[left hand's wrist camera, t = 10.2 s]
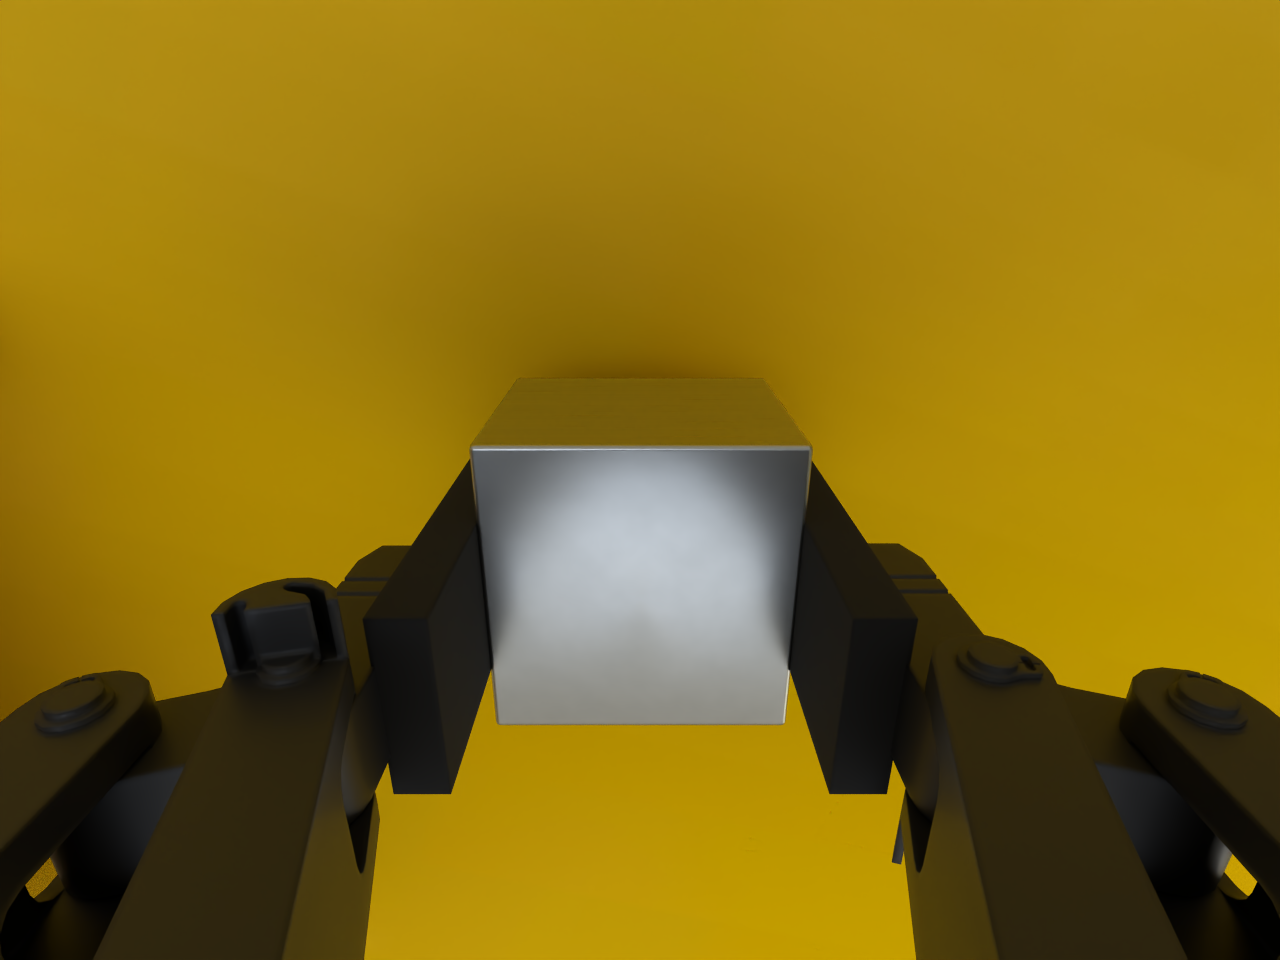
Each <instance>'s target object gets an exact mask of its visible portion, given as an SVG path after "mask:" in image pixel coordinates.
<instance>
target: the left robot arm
mask: <svg viewBox="0 0 1280 960" xmlns="http://www.w3.org/2000/svg"><path fill="white" fill-rule="evenodd" d="M211 617H212V621H213V624H214V628H215V631H216V635H217V639H218V642H219V646H220V650H221V653H222V657H223V660H224V664H225V668H226V671H227V678H226V680H225V682H224V684H223V686H222V688H218V689H214V690H210V691H206V692H201V693H196V694H191V695H186V696H181V697H176V698H171V699H166V700H161V701H155V698H154V695H153V692H152V689H151V686H150V683H149V680H147V679H146V678H145V677H143V676H142V675H140V674H139V673H135V672H128V671H120V670H119V671H111V672H102V673H93V674H88V675H84V676H82V677H81V678H79V677H77V678H74V679H71V680H68V681H65V682H63V683H61V684H60V685H58V686H56V687H54V688H52V689H49V690H47V691H45V692H43V693H41V694H39V695H37V696H36V697H34V698H33V699H31V700H30V701H28V702H27V703H25V704H24V705H22V706H21V707H19V708H18V709H16V710H15V711H14V712H12V713H11V714H10V715H9V716H8V717H6V718H5V719H4V720H3V721H2V722H0V960H364V954H365V945H366V936H367V928H368V919H369V910H370V901H371V892H372V884H373V875H374V866H375V857H376V849H377V840H378V831H379V822H380V817H379V811H378V804H377V799H376V794H375V790H376V788H377V785H378V783H379V781H380V779H381V777H382V774H383V772H384V770H385V768H386V766H387V763H388V765H389V770H390V776H391V781H392V787H393V793H394V794H451V792H452V789H453V786H454V783H455V780H456V777H457V774H458V770H459V767H460V764H461V761H462V758H463V755H464V752H465V749H466V746H467V742H468V739H469V736H470V733H471V730H472V727H473V724H474V721H475V718H476V714H477V711H478V708H479V705H480V702H481V699H482V696H483V693H484V690H485V686H486V683H487V680H488V677H489V674H490V671H491V662H490V652H489V642H488V632H487V622H486V612H485V602H484V592H483V582H482V571H481V561H480V551H479V541H478V531H477V522H476V512H475V502H474V491H473V481H472V471H471V461H470V460H469V461H468V462H467V464H466V465H465V467H464V468H463V470H462V471H461V473H460V474H459V476H458V477H457V479H456V480H455V482H454V483H453V485H452V486H451V488H450V489H449V491H448V492H447V494H446V495H445V497H444V498H443V500H442V501H441V503H440V504H439V506H438V507H437V509H436V510H435V512H434V513H433V515H432V516H431V517H430V519H429V520H428V522H427V523H426V525H425V526H424V528H423V529H422V531H421V532H420V534H419V535H418V537H417V538H416V540H415V541H414V543H413V544H412V546H381V547H380V548H378V549H376V550H375V551H373V552H372V553H370V554H368V555H367V556H365V557H363V558H362V559H360V560H359V561H358V562H357V563H356V564H355V566H354V567H353V568H352V569H351V571H350V572H349V573H348V574H347V576H346V577H345V581H342V582H341V583H340V584H339V586H338V587H337V588H335V587H333V586H332V585H330V584H329V583H328V582H326V581H323V580H318V579H313V578H287V579H282V580H277V581H272V582H267V583H263V584H260V585H257V586H255V587H252V588H249V589H246V590H244V591H241V592H239V593H238V594H236V595H234V596H233V597H231V598H229V599H228V600H226V601H224V602H223V603H222V604H221V605H220V606H219V607H218V608H217V609H216V610H215V611H214V612H213V613H212V614H211ZM790 672H791V676H792V679H793V682H794V685H795V688H796V691H797V694H798V697H799V700H800V704H801V707H802V710H803V713H804V716H805V719H806V722H807V725H808V728H809V732H810V735H811V738H812V741H813V744H814V747H815V750H816V753H817V756H818V760H819V763H820V766H821V769H822V772H823V775H824V778H825V781H826V784H827V788H828V791H829V794H887V790H888V784H889V779H890V773H891V768H892V762H893V761H894V763H895V765H896V768H897V770H898V772H899V774H900V776H901V778H902V781H903V783H904V785H905V787H906V789H905V794H904V799H903V804H902V810H901V815H900V820H899V825H898V830H897V835H896V841H895V846H894V852H893V858H892V862H893V863H897V864H901V862H902V857H903V852H904V856H905V864H906V873H907V882H908V891H909V899H910V908H911V917H912V926H913V934H914V943H915V952H916V960H1280V717H1278V716H1277V715H1276V714H1275V713H1274V712H1272V711H1271V710H1270V709H1269V708H1267V707H1266V706H1265V705H1263V704H1262V703H1260V702H1259V701H1257V700H1256V699H1254V698H1253V697H1251V696H1249V695H1248V694H1246V693H1245V692H1243V691H1242V690H1239V689H1237V688H1235V687H1233V686H1231V685H1228V684H1226V683H1224V682H1222V681H1221V680H1219V679H1217V678H1215V677H1212V676H1208V675H1205V674H1203V675H1201V674H1200V673H1198V672H1194V671H1189V670H1179V669H1171V668H1154V669H1147V670H1143V671H1141V672H1140V673H1139V674H1137V675H1136V676H1134V677H1133V679H1132V682H1131V685H1130V688H1129V691H1128V694H1127V697H1126V699H1125V698H1120V697H1115V696H1110V695H1105V694H1100V693H1095V692H1090V691H1085V690H1079V689H1074V688H1070V687H1066V686H1062V685H1059V684H1057V683H1056V681H1055V678H1054V676H1053V674H1052V673H1051V672H1050V671H1049V669H1048V668H1047V667H1046V665H1045V664H1044V663H1043V662H1042V661H1041V660H1040V659H1039V658H1037V657H1036V656H1034V655H1033V654H1031V653H1030V652H1028V651H1027V650H1026V649H1024V648H1022V647H1019V646H1017V645H1015V644H1012V643H1010V642H1008V641H1005V640H1003V639H999V638H995V637H990V636H986V635H983V633H982V632H981V631H980V630H979V628H978V627H977V626H976V625H975V623H974V622H973V621H972V620H971V618H970V617H969V616H968V615H967V613H966V612H965V611H964V610H963V608H962V607H961V606H960V605H959V603H958V602H957V601H956V600H955V598H954V597H953V596H952V595H951V594H948V590H947V588H946V587H945V586H944V585H943V583H942V582H941V581H940V580H939V579H936V575H935V573H934V572H933V571H932V570H931V568H930V567H929V566H928V565H927V563H926V562H925V561H924V560H923V558H921V557H920V556H918V555H916V554H915V553H913V552H911V551H910V550H908V549H906V548H905V547H903V546H902V545H900V544H868V543H867V542H866V540H865V539H864V537H863V536H862V535H861V533H860V532H859V530H858V529H857V527H856V526H855V524H854V523H853V521H852V520H851V518H850V517H849V515H848V514H847V512H846V511H845V509H844V508H843V506H842V505H841V503H840V502H839V500H838V499H837V497H836V496H835V494H834V493H833V491H832V490H831V488H830V487H829V485H828V484H827V483H826V481H825V480H824V478H823V477H822V475H821V474H820V472H819V471H818V469H817V468H816V466H815V465H814V463H813V462H812V463H811V473H810V483H809V493H808V503H807V513H806V522H805V525H804V535H803V545H802V555H801V565H800V575H799V585H798V595H797V605H796V615H795V625H794V635H793V645H792V655H791V664H790ZM1232 854H1233V855H1234V856H1235V857H1236V858H1237V859H1238V860H1239V862H1240V863H1241V864H1242V865H1243V866H1244V867H1245V868H1246V869H1247V870H1248V872H1249V873H1250V874H1251V875H1252V876H1253V877H1254V878H1255V879H1256V881H1257V884H1256V886H1255V888H1254V890H1253V892H1252V893H1251V894H1250V895H1249V896H1247V895H1246V894H1244V893H1243V892H1242V891H1241V890H1240V889H1239V888H1238V887H1237V886H1236V885H1235V884H1234V883H1233V882H1232V881H1231V879H1230V878H1229V877H1228V876H1227V875H1226V874H1225V872H1224V871H1225V869H1226V867H1227V864H1228V862H1229V860H1230V858H1231V855H1232ZM49 857H50V858H51V860H52V863H53V865H54V867H55V869H56V871H57V874H58V875H57V876H56V877H55V878H54V880H53V881H52V882H51V883H50V884H49V885H48V887H47V888H46V889H45V890H43V891H42V892H41V893H40V894H39V895H37V896H36V897H35V898H33V897H31V896H30V894H29V892H28V890H27V888H26V886H25V884H26V883H27V882H28V881H29V880H30V879H31V878H32V877H33V875H34V874H35V873H36V872H37V871H38V870H39V869H40V868H41V866H42V865H43V864H44V863H45V862H46V861H47V860H48V859H49Z"/></svg>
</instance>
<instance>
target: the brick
mask: <svg viewBox="0 0 1280 960" xmlns="http://www.w3.org/2000/svg"><path fill="white" fill-rule="evenodd" d="M469 451H470V461H471V471H472V481H473V491H474V502H475V512H476V522H477V531H478V541H479V551H480V561H481V571H482V582H483V592H484V602H485V612H486V622H487V632H488V642H489V652H490V662H491V673H492V683H493V693H494V703H495V714H496V721H497V724H499V725H783V724H784V723H785V719H786V709H787V700H788V690H789V680H790V664H791V655H792V645H793V635H794V625H795V615H796V605H797V595H798V585H799V575H800V565H801V555H802V545H803V535H804V525H805V522H806V513H807V503H808V493H809V483H810V473H811V463H812V454H813V448H812V445H811V444H810V442H809V441H808V440H807V438H806V437H805V435H804V434H803V433H802V431H801V430H800V429H799V427H798V426H797V424H796V423H795V422H794V420H793V419H792V417H791V416H790V415H789V413H788V412H787V410H786V409H785V408H784V406H783V405H782V403H781V402H780V401H779V399H778V398H777V396H776V395H775V394H774V392H773V391H772V389H771V388H770V387H769V385H768V384H767V383H766V381H765V380H764V379H762V378H519V379H517V380H516V382H515V383H514V385H513V386H512V387H511V389H510V390H509V392H508V393H507V394H506V396H505V397H504V399H503V400H502V402H501V403H500V404H499V406H498V407H497V409H496V410H495V411H494V413H493V414H492V416H491V417H490V419H489V420H488V421H487V423H486V424H485V426H484V427H483V428H482V430H481V431H480V433H479V434H478V436H477V437H476V438H475V440H474V441H473V443H472V444H471V446H470V449H469Z"/></svg>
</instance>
